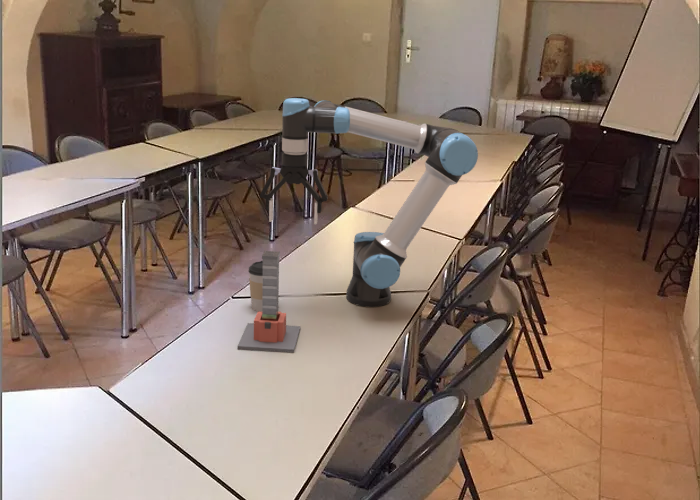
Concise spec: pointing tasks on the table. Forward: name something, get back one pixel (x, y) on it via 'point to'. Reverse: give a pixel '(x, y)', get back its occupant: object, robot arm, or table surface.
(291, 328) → the stand
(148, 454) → the table surface
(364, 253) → the robot arm
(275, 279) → the column
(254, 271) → the coffee cup
